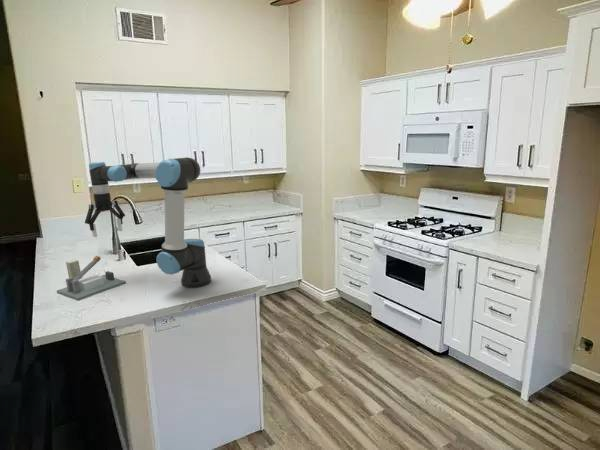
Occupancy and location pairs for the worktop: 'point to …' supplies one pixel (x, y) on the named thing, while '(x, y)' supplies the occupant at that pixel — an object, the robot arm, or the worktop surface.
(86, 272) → the lever handle
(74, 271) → the box
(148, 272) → the worktop surface
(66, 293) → the clamp base
